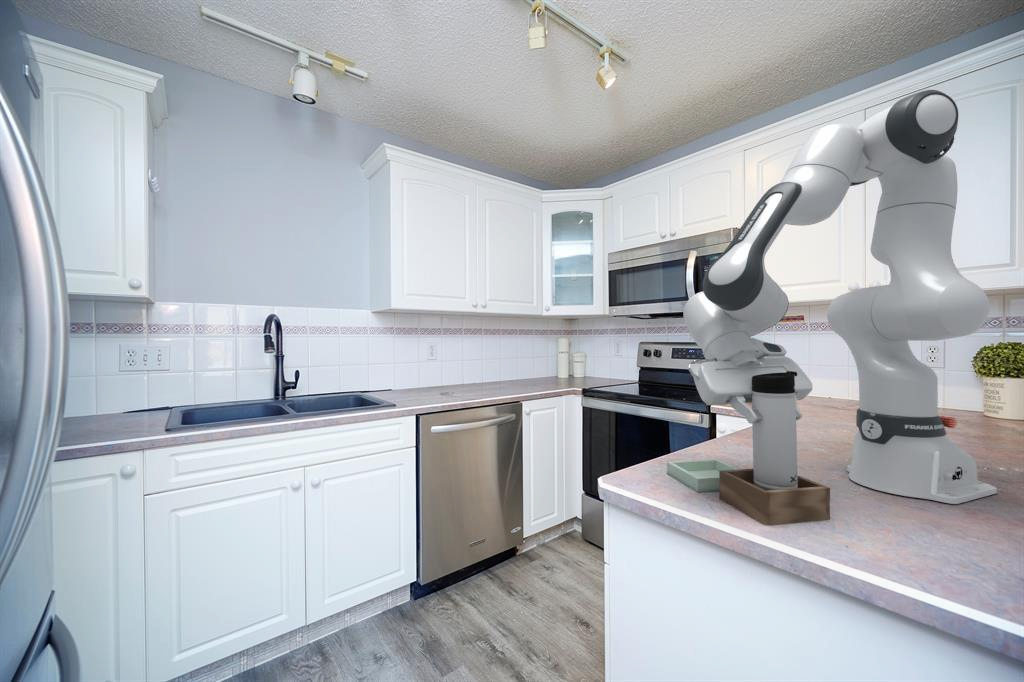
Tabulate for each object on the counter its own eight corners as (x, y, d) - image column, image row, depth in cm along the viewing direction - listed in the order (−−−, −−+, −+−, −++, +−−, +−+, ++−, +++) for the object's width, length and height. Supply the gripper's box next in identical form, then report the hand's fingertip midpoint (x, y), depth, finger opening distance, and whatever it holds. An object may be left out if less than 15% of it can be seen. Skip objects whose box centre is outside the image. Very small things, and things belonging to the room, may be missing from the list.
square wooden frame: (776, 494, 76) (776, 467, 75) (829, 519, 65) (830, 487, 65) (719, 498, 74) (719, 470, 74) (765, 525, 63) (765, 492, 63)
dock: (716, 470, 89) (716, 458, 89) (752, 488, 79) (752, 475, 79) (667, 473, 87) (666, 461, 87) (697, 492, 77) (697, 478, 77)
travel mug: (807, 498, 65) (804, 373, 65) (761, 496, 67) (758, 373, 67) (790, 484, 72) (787, 370, 71) (748, 482, 73) (745, 370, 73)
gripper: (691, 348, 74) (729, 412, 65) (790, 345, 77) (840, 405, 68) (677, 371, 79) (712, 434, 69) (772, 367, 82) (817, 426, 72)
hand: (776, 420), depth 69 cm, fingers closed on travel mug, 6 cm apart
